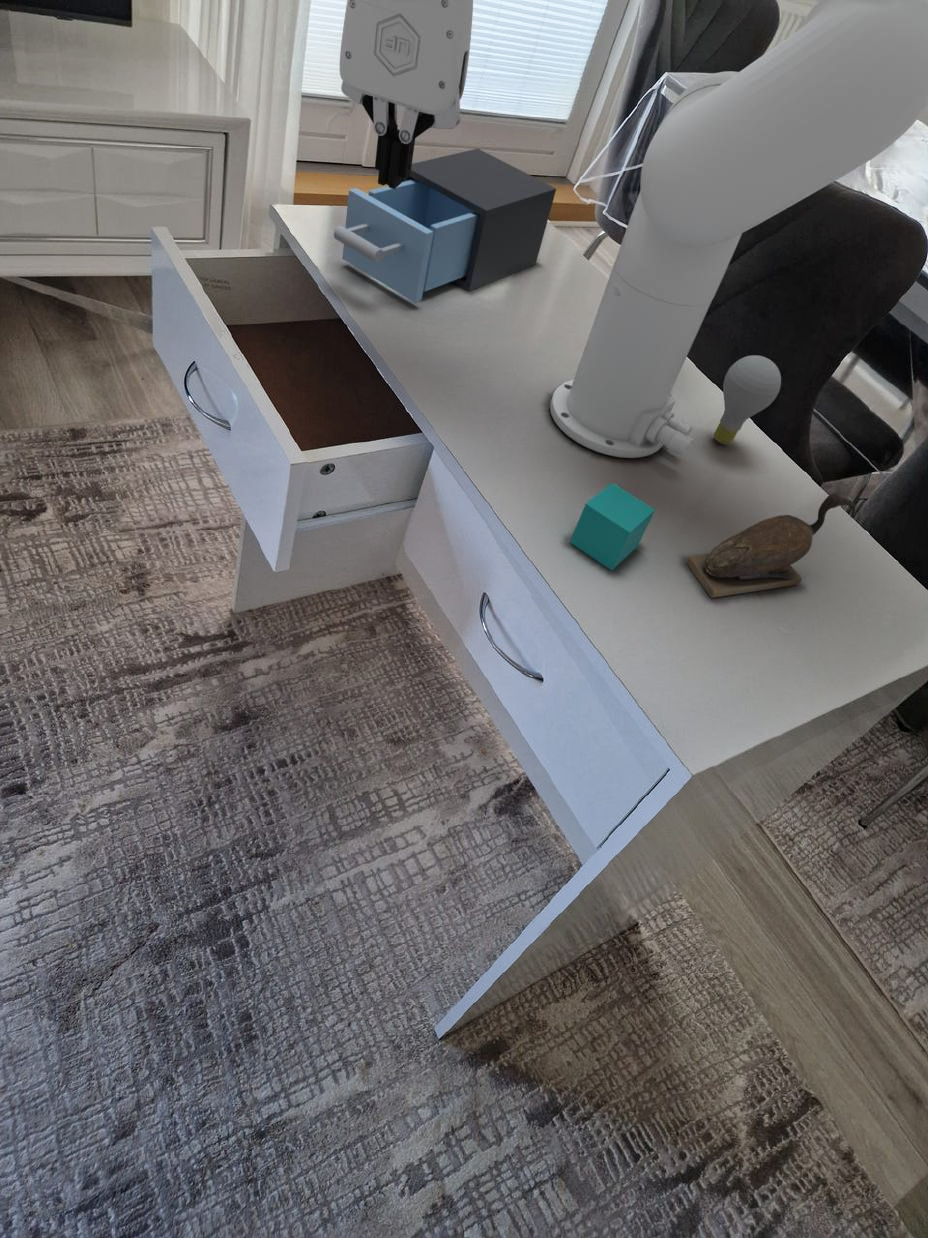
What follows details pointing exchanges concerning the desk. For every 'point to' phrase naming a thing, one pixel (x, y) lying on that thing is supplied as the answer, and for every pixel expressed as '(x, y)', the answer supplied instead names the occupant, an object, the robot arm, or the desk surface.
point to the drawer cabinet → (492, 210)
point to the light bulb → (746, 393)
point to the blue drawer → (408, 237)
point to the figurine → (760, 554)
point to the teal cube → (611, 526)
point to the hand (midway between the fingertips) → (391, 181)
